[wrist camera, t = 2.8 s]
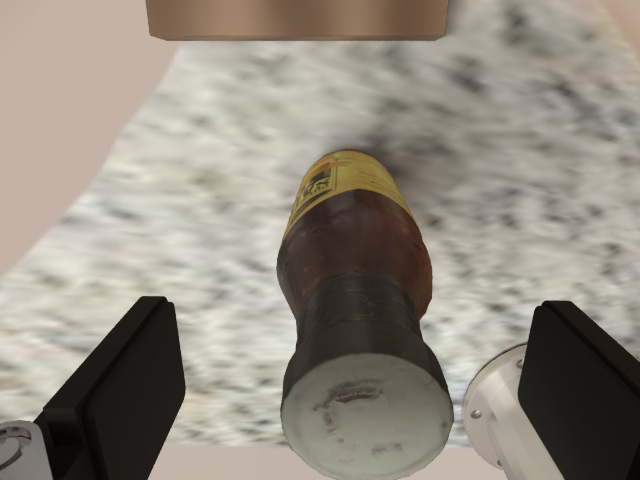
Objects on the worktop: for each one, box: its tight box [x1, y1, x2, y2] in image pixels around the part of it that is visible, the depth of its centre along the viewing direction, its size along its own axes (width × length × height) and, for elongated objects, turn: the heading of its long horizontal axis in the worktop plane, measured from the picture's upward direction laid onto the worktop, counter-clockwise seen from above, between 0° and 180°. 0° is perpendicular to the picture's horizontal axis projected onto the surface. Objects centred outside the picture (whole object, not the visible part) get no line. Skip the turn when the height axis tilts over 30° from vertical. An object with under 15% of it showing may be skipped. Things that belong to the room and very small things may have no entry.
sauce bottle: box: [276, 149, 454, 480], centre depth 19 cm, size 7×6×20 cm
